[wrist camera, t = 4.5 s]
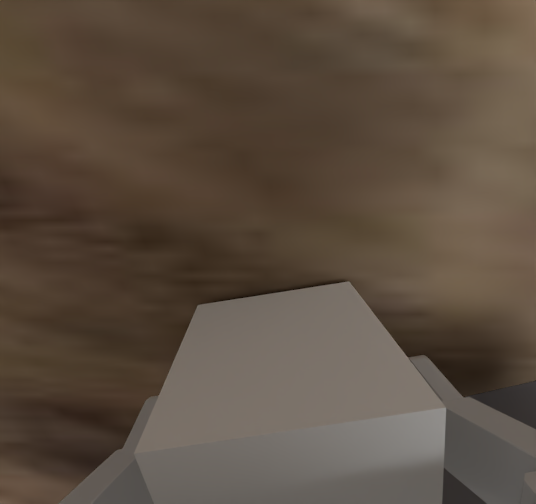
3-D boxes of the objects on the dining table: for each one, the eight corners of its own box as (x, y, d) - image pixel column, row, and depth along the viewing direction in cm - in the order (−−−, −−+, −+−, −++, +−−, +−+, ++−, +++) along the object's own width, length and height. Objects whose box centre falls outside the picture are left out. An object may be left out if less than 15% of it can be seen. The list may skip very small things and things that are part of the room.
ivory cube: (197, 305, 9) (133, 453, 5) (349, 281, 9) (446, 407, 4) (228, 421, 11) (203, 625, 6) (358, 402, 11) (438, 593, 6)
